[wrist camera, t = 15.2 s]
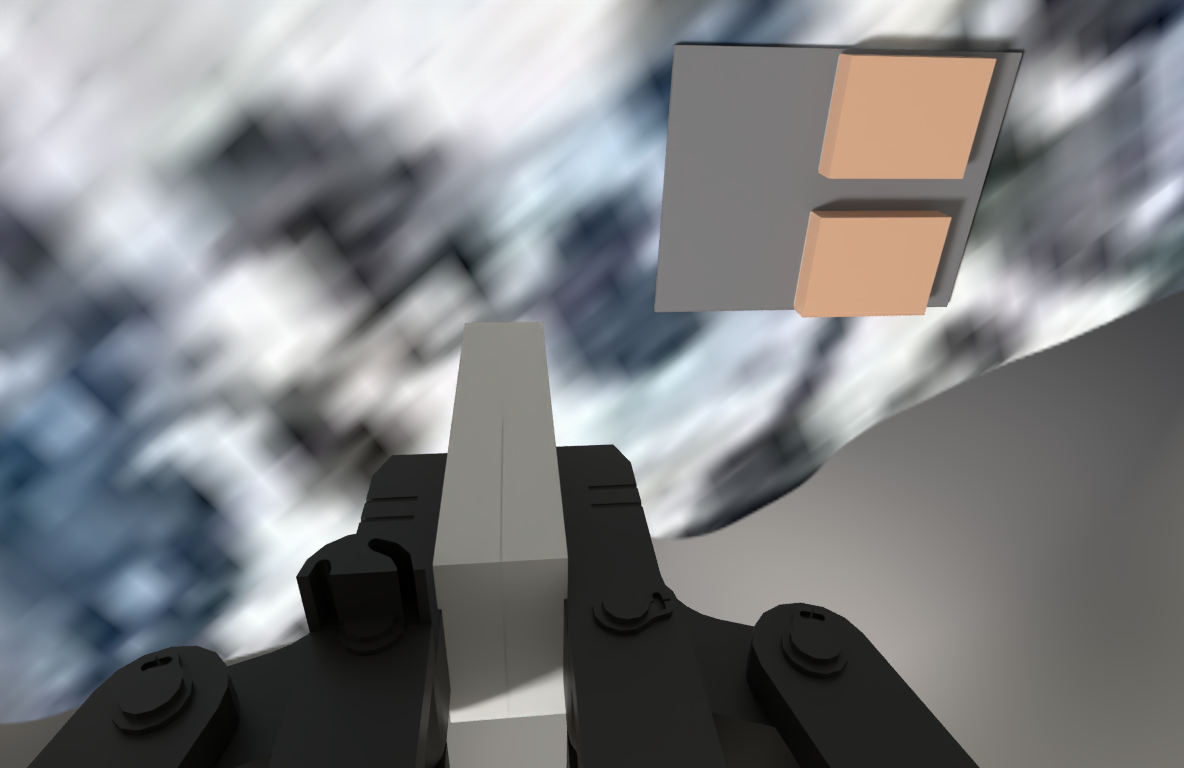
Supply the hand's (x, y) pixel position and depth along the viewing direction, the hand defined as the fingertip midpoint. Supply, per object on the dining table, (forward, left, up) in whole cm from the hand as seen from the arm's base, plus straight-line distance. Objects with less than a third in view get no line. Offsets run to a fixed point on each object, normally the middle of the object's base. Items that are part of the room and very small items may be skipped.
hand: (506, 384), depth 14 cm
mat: (+4, +21, -32) cm, 39 cm away
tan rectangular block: (-1, +20, -31) cm, 37 cm away
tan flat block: (+9, +20, -31) cm, 38 cm away
